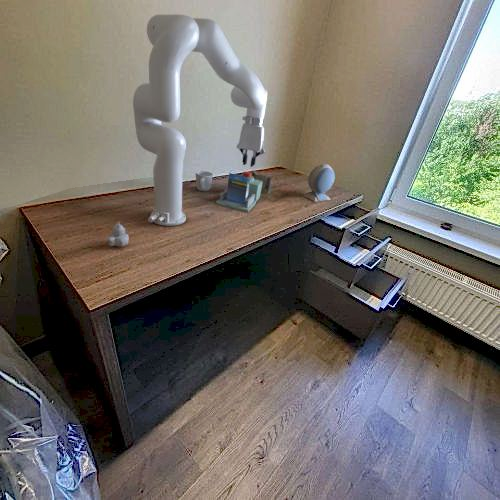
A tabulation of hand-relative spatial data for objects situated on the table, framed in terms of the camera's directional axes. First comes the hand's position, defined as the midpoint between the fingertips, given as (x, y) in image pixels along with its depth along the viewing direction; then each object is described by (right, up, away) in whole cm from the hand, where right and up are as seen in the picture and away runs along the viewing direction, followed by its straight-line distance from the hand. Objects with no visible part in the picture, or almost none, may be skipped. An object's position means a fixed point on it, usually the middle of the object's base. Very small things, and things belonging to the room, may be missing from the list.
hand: (248, 164), depth 126 cm
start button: (-1, -5, +3) cm, 6 cm away
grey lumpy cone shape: (-39, -38, -43) cm, 69 cm away
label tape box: (-5, -17, -2) cm, 18 cm away
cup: (-22, -11, +6) cm, 25 cm away
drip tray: (-5, -18, -1) cm, 19 cm away
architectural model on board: (+6, -8, +19) cm, 21 cm away
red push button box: (-2, -13, +8) cm, 15 cm away
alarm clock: (+36, -11, +23) cm, 44 cm away
